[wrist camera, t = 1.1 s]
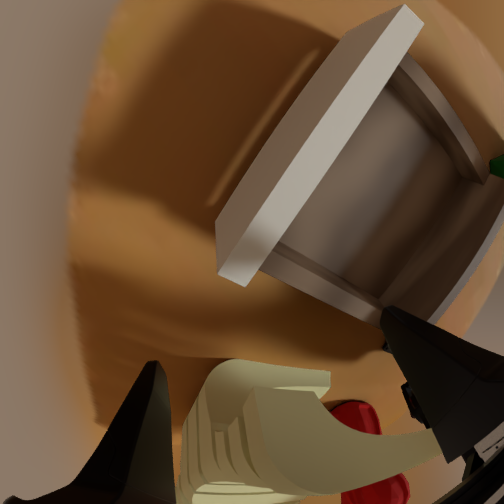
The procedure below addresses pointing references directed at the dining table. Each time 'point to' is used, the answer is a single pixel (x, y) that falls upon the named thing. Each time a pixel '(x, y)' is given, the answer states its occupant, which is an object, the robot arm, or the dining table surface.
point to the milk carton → (497, 166)
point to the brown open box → (395, 210)
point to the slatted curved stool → (281, 440)
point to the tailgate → (309, 141)
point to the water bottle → (382, 492)
